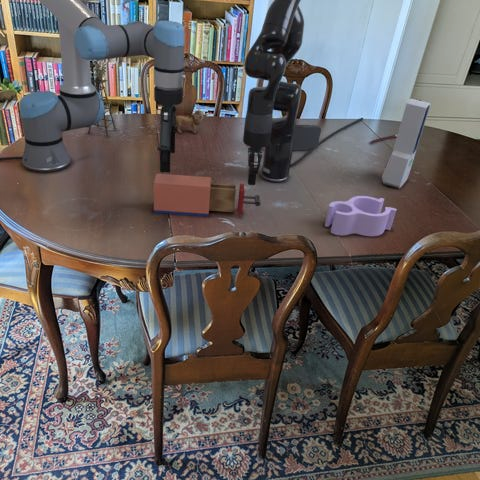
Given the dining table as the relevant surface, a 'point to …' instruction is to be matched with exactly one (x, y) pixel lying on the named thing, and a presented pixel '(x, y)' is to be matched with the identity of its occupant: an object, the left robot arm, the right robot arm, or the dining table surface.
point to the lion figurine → (190, 120)
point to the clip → (359, 216)
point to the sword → (383, 138)
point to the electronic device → (406, 143)
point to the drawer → (228, 198)
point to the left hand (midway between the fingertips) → (167, 161)
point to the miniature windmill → (99, 80)
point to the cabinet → (182, 194)
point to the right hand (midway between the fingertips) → (251, 183)
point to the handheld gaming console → (306, 137)
